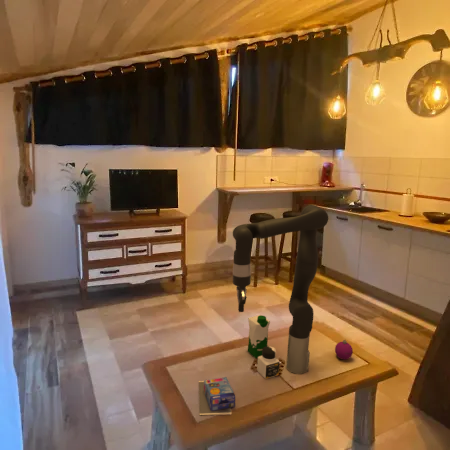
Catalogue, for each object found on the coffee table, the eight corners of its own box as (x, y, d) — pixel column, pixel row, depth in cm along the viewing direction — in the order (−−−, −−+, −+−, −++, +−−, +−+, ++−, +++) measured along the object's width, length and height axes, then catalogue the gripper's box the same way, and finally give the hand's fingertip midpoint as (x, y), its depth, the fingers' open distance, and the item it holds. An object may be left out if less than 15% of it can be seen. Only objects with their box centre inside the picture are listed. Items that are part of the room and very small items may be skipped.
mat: (226, 381, 159) (226, 380, 159) (231, 414, 139) (231, 413, 139) (198, 382, 158) (198, 381, 158) (199, 415, 138) (199, 414, 138)
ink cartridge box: (226, 375, 153) (238, 399, 139) (226, 387, 154) (237, 411, 141) (203, 379, 150) (212, 404, 137) (203, 391, 151) (212, 416, 138)
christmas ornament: (339, 351, 184) (341, 333, 182) (354, 358, 179) (357, 339, 177) (331, 357, 179) (332, 338, 176) (346, 365, 173) (348, 345, 171)
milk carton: (255, 360, 175) (257, 321, 170) (244, 351, 182) (246, 313, 178) (270, 355, 179) (272, 317, 175) (258, 346, 187) (260, 309, 182)
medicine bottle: (265, 379, 161) (267, 354, 158) (256, 370, 167) (258, 346, 164) (278, 375, 164) (280, 350, 161) (269, 366, 170) (271, 343, 167)
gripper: (253, 278, 148) (252, 318, 152) (248, 267, 161) (247, 304, 165) (234, 279, 148) (234, 318, 152) (231, 268, 161) (230, 304, 164)
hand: (241, 311), depth 158 cm, fingers closed
